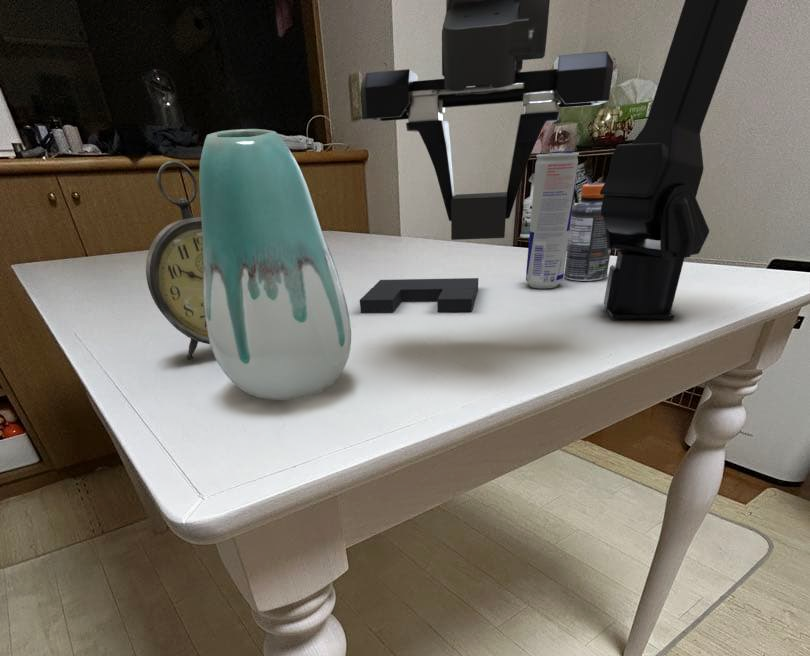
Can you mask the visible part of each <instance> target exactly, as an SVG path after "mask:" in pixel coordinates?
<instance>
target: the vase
mask: <svg viewBox="0 0 810 656" xmlns="http://www.w3.org/2000/svg"><path fill="white" fill-rule="evenodd" d="M198 174H199V175H198V176H199V177H198V179H199V180H198V182H199V200H200V201H199V202H200V218H201V220H202V238H203V267H202V277H203V300H204V311H205V319H206V327H207V332H208V338H209V342H210V344H209V345H210V349H211V351H212V354H213V356H214V358H215V360H216V362H217V364H218V366H219V367H220V369H221V370H222V372H223V373H224V374H225V376H226V377H227V378H228V380H230V381H231V382H232V383H233V384H235V386H236V387H237V388H239V389H240V390H242V391H243V392H244V393H246V394H249V395H251V396H253V397H256V398H259V399H264V400H271V401H272V400H273V401H286V400H288V401H289V400H296V399H302V398H306V397H309V396H314V395H315V394H318V393H320V392H323V391H324V390H326V389H327V388H329V387H330V386H332V385H334V383H335V382H336V381H337V380H338V379H339V378H340V376H341V375H342V373H343V371H344V370H345V367H346V365H347V363H348V361H349V356H350V352H351V349H352V348H351V347H352V323H351V319H350V313H349V309H348V303H347V299H346V296H345V292H344V289H343V285H342V283H341V279H340V275H339V273H338V272H339V271H338V270H337V266H336V264H335V260H334V258H333V255H332V252H331V250H330V248H329V246H328V243H327V241H326V238H325V235H324V233H323V230H322V227H321V224H320V220H319V218H318V214H317V211H316V209H315V205H314V201H313V199H312V196H311V193H310V189H309V187H308V185H307V181H306V178H305V177H304V174H303V172H302V170H301V167H300V165H299V164H298V162H297V160H296V158H295V156H294V155H293V153H292V151H291V150H290V148H289V147H288V145H287V144H286V142H285V141H284V139H283V138H282V137H281V136H280V134H278V133H277V131H275V130H268V129H260V128H243V129H241V128H240V129H228V130H226V129H225V130H221V131H215V132H211V133H209V134H206V136H205V139H204V142H203V146H202V150H201V154H200V161H199V173H198Z"/></svg>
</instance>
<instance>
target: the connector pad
mask: <svg viewBox="0 0 810 656" xmlns="http://www.w3.org/2000/svg"><path fill="white" fill-rule="evenodd" d="M506 203H507V191H502V192H499V191H498V192H478V193H458V194H454V197H453V198H452V199H451V221H450V223H451V224H450V239H451V241H458V240H459V241H463V240H486V239H490V240H491V239H505V237H506Z"/></svg>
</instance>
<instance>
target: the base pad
mask: <svg viewBox="0 0 810 656" xmlns="http://www.w3.org/2000/svg"><path fill="white" fill-rule="evenodd" d="M478 292H479V277H468V278H467V277H465V278H464V277H462V278H455V277H453V278H410V279H407V278H406V279H403V278H401V279H379V280H378V281H377V282H376V283H375V285H373V286H372V287H371V288H370V289H369V290H368V291H367V292H366V293H365V294H364V295H363V296H362V297H361V298H360V299H359V307H360V313H362V314H363V313H364V314H365V313H366V314H367V313H373V314H375V313H377V314H379V313H394V312H395V311H396V310H397V308H398V307H399V305H400V304H401V303H402V302H437V303H436V305H437V307H436V309H437V310H436V311H437V313H471V312H473V308H474V304H475V301H476V298H477V295H478Z"/></svg>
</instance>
